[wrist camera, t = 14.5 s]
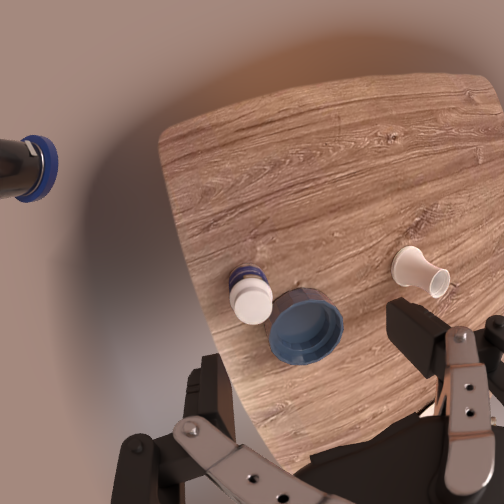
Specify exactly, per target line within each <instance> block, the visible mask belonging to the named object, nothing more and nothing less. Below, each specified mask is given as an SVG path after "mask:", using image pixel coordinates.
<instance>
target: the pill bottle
mask: <svg viewBox="0 0 504 504" xmlns="http://www.w3.org/2000/svg"><path fill="white" fill-rule="evenodd" d="M272 298H273V296H272V291H271V288H270V286H269V283H268V281H267V278H266V276H265V274H264V272H263V271H262V269H261V268H259V267H258V266H256V265H254V264H242V265H239V266H237V267H236V268H235V269H234V270H233V271H232V272H231V274H230V277H229V299H230V304H231V307H232V309H233V310H234V311H235V314H236V316H237V317H238V319H239V320H241V321H242V322H244V323H246V324H251V325H254V324H259V323H262V322H264V321H265V320H266V319H267V318H268V317H269V316H270V314H271V312H272Z"/></svg>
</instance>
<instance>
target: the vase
mask: <svg viewBox="0 0 504 504" xmlns="http://www.w3.org/2000/svg"><path fill="white" fill-rule="evenodd" d="M391 274H392V277H393V279H394V281H395V282H396V283H397V284H399V285H401V286H410V285H413V286H417V287H420V288H422V289H424V290H425V291H427V292H428V293H429V294H430V295H431V296H432V297H434V298H439V297H441V296H442V295H443V294H444V293H445V292H446V290H447V288H448V286H449V282H450V275H449V272H448V271H447V270H445V269H441V268H438V267H436V266H434V265H432V264H431V263H429V262H428V261H427V260H426V259H425V258H424V257H423V254H422V252H421V251H420V250H419V249H418V248H416V247H413V246H406V247H404V248H402V249H401V250H400V251H399V252H398V253H397V254H396V256H395V257H394V259H393V262H392V266H391Z"/></svg>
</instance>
